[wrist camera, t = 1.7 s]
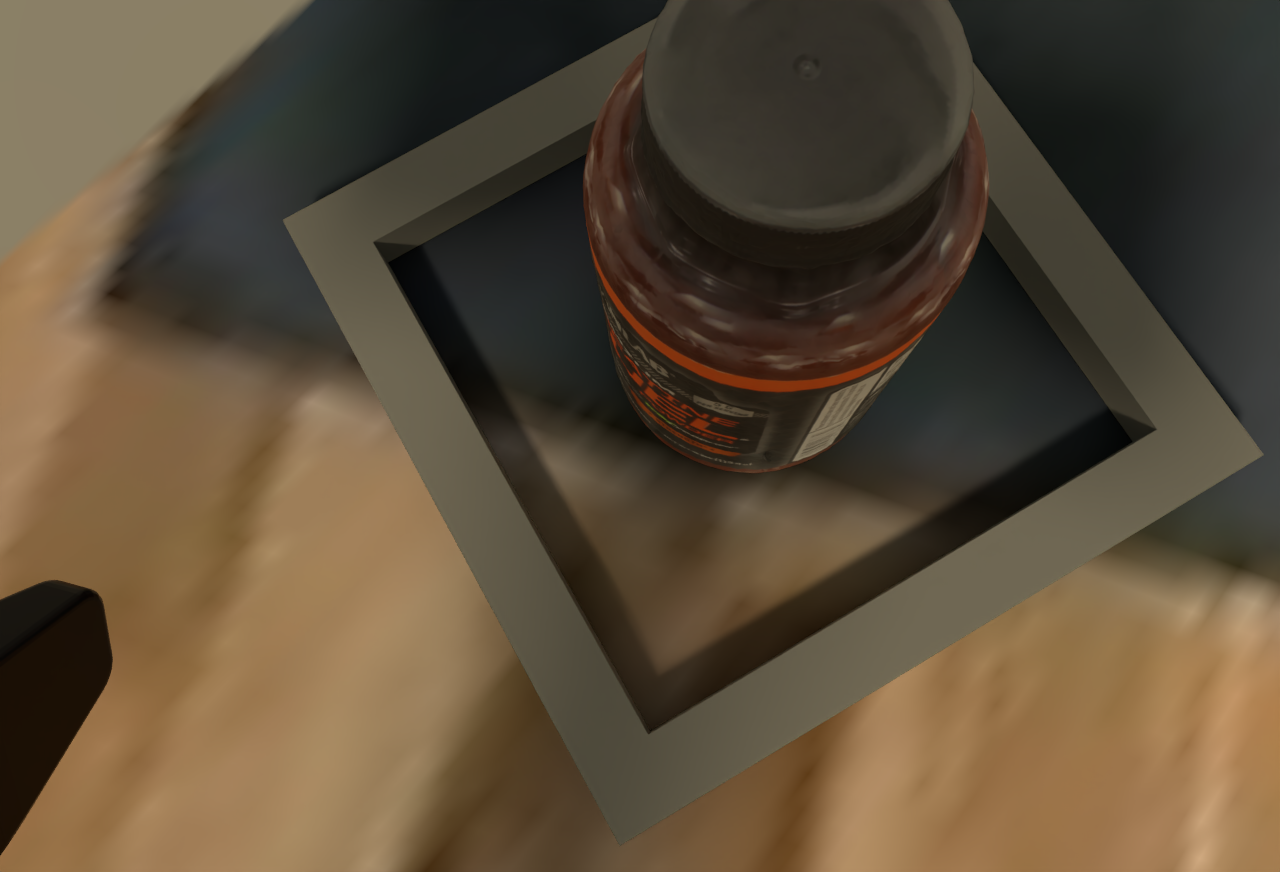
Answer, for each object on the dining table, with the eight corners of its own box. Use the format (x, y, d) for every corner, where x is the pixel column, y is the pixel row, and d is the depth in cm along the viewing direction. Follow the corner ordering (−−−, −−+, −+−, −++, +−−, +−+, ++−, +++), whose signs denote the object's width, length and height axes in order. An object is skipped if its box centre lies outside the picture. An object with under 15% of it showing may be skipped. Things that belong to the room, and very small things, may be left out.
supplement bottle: (559, 369, 24) (448, 103, 13) (724, 175, 24) (757, -234, 13) (771, 537, 23) (856, 407, 11) (936, 329, 23) (1162, 23, 12)
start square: (1233, 466, 22) (1263, 454, 21) (623, 836, 21) (619, 845, 20) (851, -57, 26) (859, -92, 24) (301, 241, 24) (282, 220, 23)
